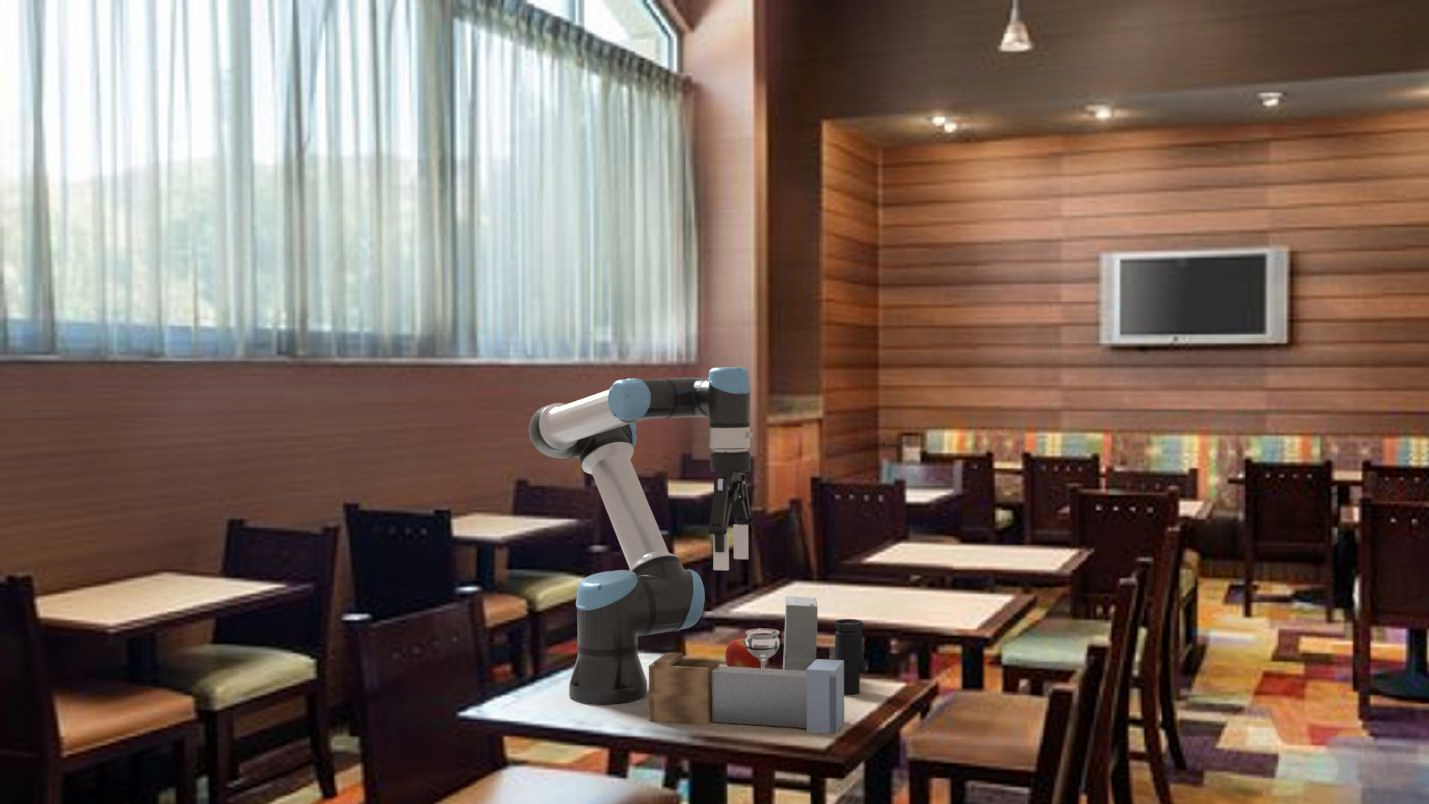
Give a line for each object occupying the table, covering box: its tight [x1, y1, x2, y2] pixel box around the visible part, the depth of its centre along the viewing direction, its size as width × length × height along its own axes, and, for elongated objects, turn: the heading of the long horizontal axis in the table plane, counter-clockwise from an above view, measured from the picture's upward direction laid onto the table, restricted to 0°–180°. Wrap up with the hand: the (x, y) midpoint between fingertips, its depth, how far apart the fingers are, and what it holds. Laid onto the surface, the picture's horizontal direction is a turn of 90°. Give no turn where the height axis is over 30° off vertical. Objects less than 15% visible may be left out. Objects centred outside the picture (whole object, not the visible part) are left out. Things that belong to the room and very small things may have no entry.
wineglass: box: [745, 628, 781, 669], centre depth 256 cm, size 7×7×12 cm
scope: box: [825, 618, 870, 696], centre depth 256 cm, size 8×14×10 cm
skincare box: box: [782, 596, 818, 671], centre depth 269 cm, size 8×7×16 cm
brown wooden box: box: [648, 651, 721, 726], centre depth 239 cm, size 11×8×11 cm
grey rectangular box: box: [711, 665, 807, 729], centre depth 235 cm, size 21×5×9 cm, turn 74°
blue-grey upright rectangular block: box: [806, 658, 845, 735], centre depth 232 cm, size 5×8×11 cm, turn 164°
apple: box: [724, 634, 761, 668], centre depth 266 cm, size 8×8×10 cm
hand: (731, 564), depth 245 cm, fingers open, 13 cm apart
